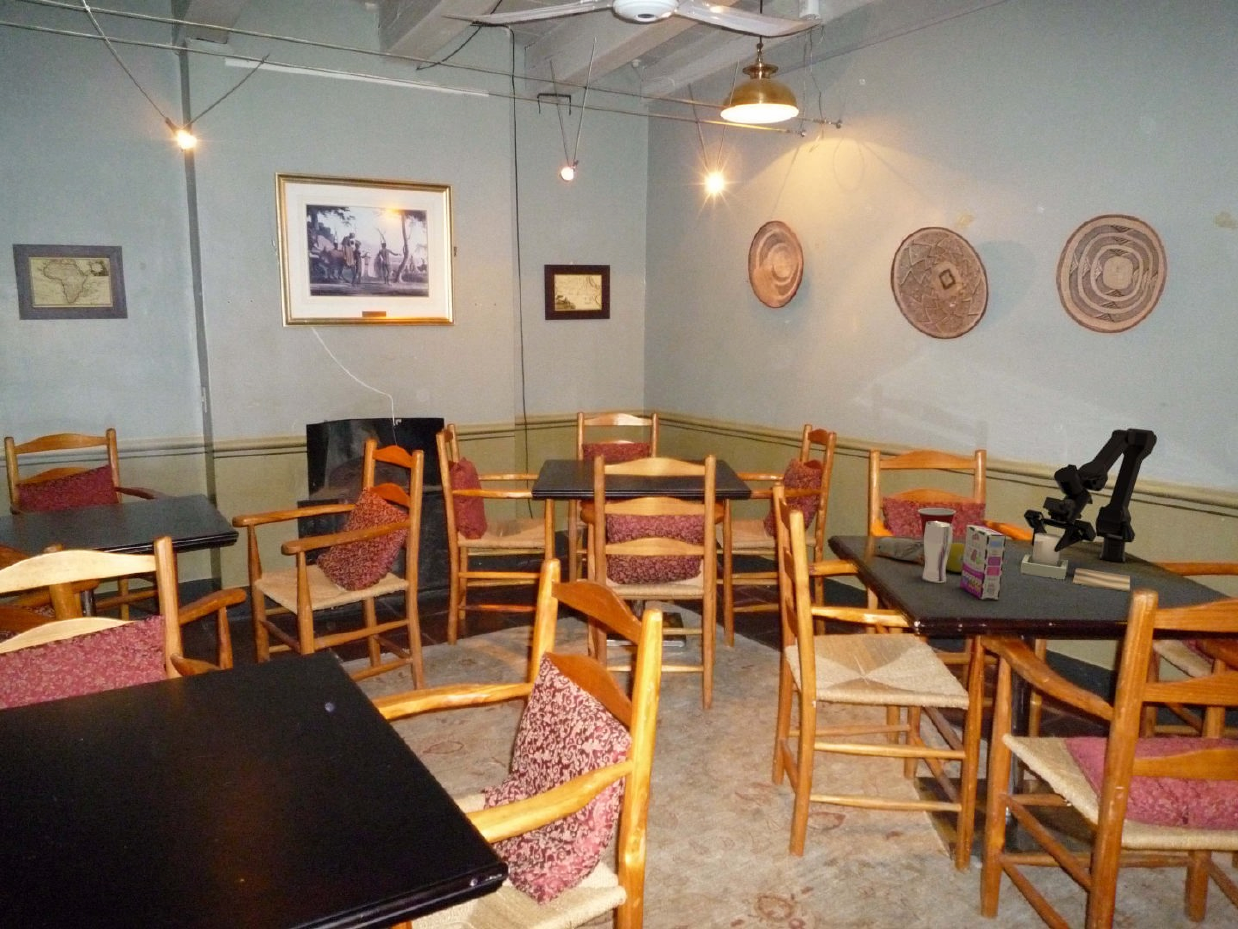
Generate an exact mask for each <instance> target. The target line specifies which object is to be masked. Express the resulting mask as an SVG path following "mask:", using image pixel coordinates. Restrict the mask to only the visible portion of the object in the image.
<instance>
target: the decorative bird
mask: <svg viewBox="0 0 1238 929" xmlns="http://www.w3.org/2000/svg"><path fill="white" fill-rule="evenodd" d="M883 554H888V555H889V556H890V557H892V558H893V559H897V560H899V561H900V560H901V561H915V560H919V559H920V560H921V561H922V562H924V563H923V564H922V566H925V559H923V558H922V557H925V556H924V540H923V539H917V540H915V539H909V538H899V537H898V538H896V537H895V538H894V537H890V536H885V537H882V538H880V539H879V540H878V543H877V545H876V555H877V556H881V555H883Z"/></svg>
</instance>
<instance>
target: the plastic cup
mask: <svg viewBox="0 0 1238 929" xmlns="http://www.w3.org/2000/svg"><path fill="white" fill-rule="evenodd" d="M917 512H918V514H919V518H920V522H921V531H922V537H923V538H922V540H924V533H925V527H926V522H929V521H939V522H946V523H950V524H952V523H953V520H954V516H955V514H956V513H957V512H956V510H954V509H950V508H943V507H942V508H941V507H927V508H926V507H925V508H921V509H918V510H917Z"/></svg>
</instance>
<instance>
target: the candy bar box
mask: <svg viewBox="0 0 1238 929" xmlns="http://www.w3.org/2000/svg"><path fill="white" fill-rule="evenodd" d="M965 530H966V531H965V539H964V544H965V547H964V557H963V566H962V572H961V577H960V578H961V579H960V587H961V588H962V589H963V590H964V591H966V592H968V593H969V594H971V595H973V596H975V597H976V598H978V599H980V600H983V601H985V600H986V601H999V600H1000V592H1001V586H1002V585H1001V584H1002V574H1003V565H1004V558H1005V548H1006V539H1007V535H1006V534H1004V533H1001V532H999V531H996V530H994V529H992V528H990V527H988V526H985V525H980V524H979V525H975V524H974V525H972V524H971V525H970V524H967V525H966V529H965Z"/></svg>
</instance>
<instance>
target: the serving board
mask: <svg viewBox="0 0 1238 929" xmlns="http://www.w3.org/2000/svg"><path fill="white" fill-rule="evenodd" d="M1074 571H1075V572H1074V575H1073V576H1074V577H1073V579H1072V584H1073V583H1075V584H1074V585H1078V584H1081V585H1080V586H1085V585H1086V586H1085V587H1091V586H1092V587H1091V588H1093V587H1094V588H1097V587H1098V588H1099V589H1104V588H1105V590H1110V589H1117V590H1122V591H1121V592H1123V591H1129V592H1128V593H1130V591H1131V588H1130V587H1131V575H1126V574H1118V573H1112V572H1107V571H1106V572H1105V571H1098V570H1092V569H1087V568H1079V567H1076V569H1075V570H1074Z"/></svg>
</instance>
